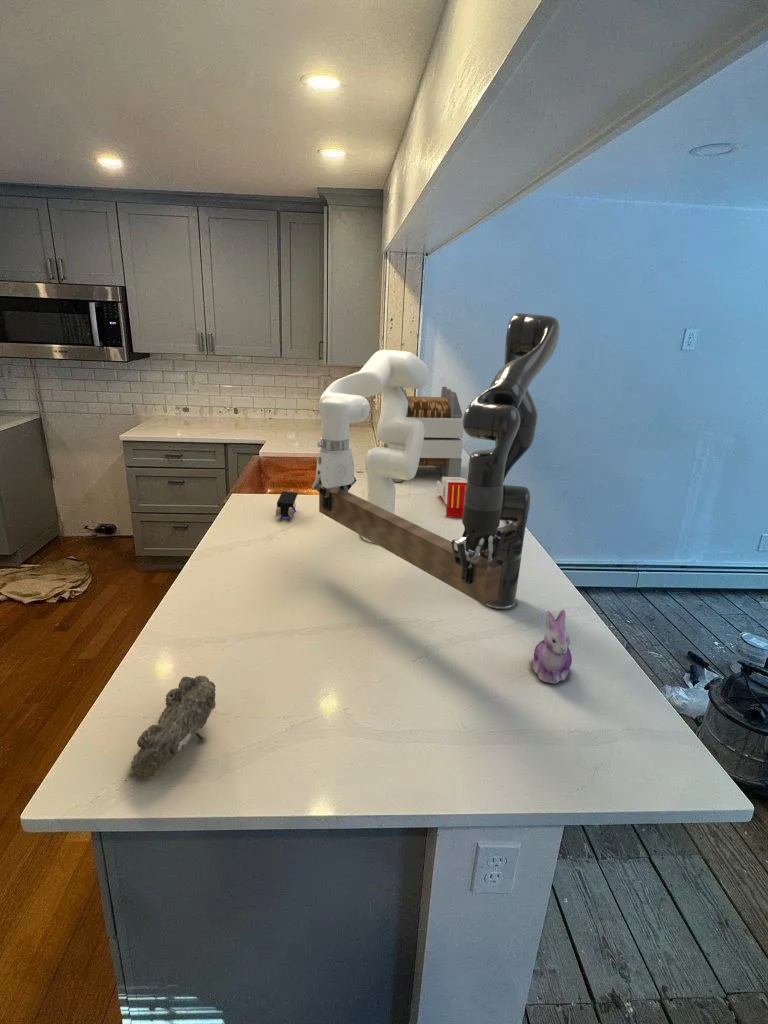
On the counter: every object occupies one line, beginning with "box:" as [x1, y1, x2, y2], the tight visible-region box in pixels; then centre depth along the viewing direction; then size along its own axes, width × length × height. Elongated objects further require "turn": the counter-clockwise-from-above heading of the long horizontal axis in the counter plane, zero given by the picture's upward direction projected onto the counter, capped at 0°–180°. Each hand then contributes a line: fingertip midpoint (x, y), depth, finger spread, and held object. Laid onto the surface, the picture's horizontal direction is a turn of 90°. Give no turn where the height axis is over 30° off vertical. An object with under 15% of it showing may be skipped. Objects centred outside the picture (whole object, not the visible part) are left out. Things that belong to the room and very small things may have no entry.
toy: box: [435, 476, 467, 518], centre depth 229 cm, size 12×13×30 cm
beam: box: [318, 485, 501, 606], centre depth 139 cm, size 64×4×8 cm, turn 37°
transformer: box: [383, 386, 465, 483], centre depth 268 cm, size 34×33×41 cm
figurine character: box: [275, 491, 299, 522], centre depth 211 cm, size 7×8×15 cm
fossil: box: [130, 675, 217, 778], centre depth 101 cm, size 22×10×15 cm
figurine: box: [532, 609, 573, 684], centre depth 124 cm, size 9×10×15 cm
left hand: (334, 507), depth 160 cm, fingers closed on beam, 4 cm apart
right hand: (474, 579), depth 119 cm, fingers closed on beam, 4 cm apart
